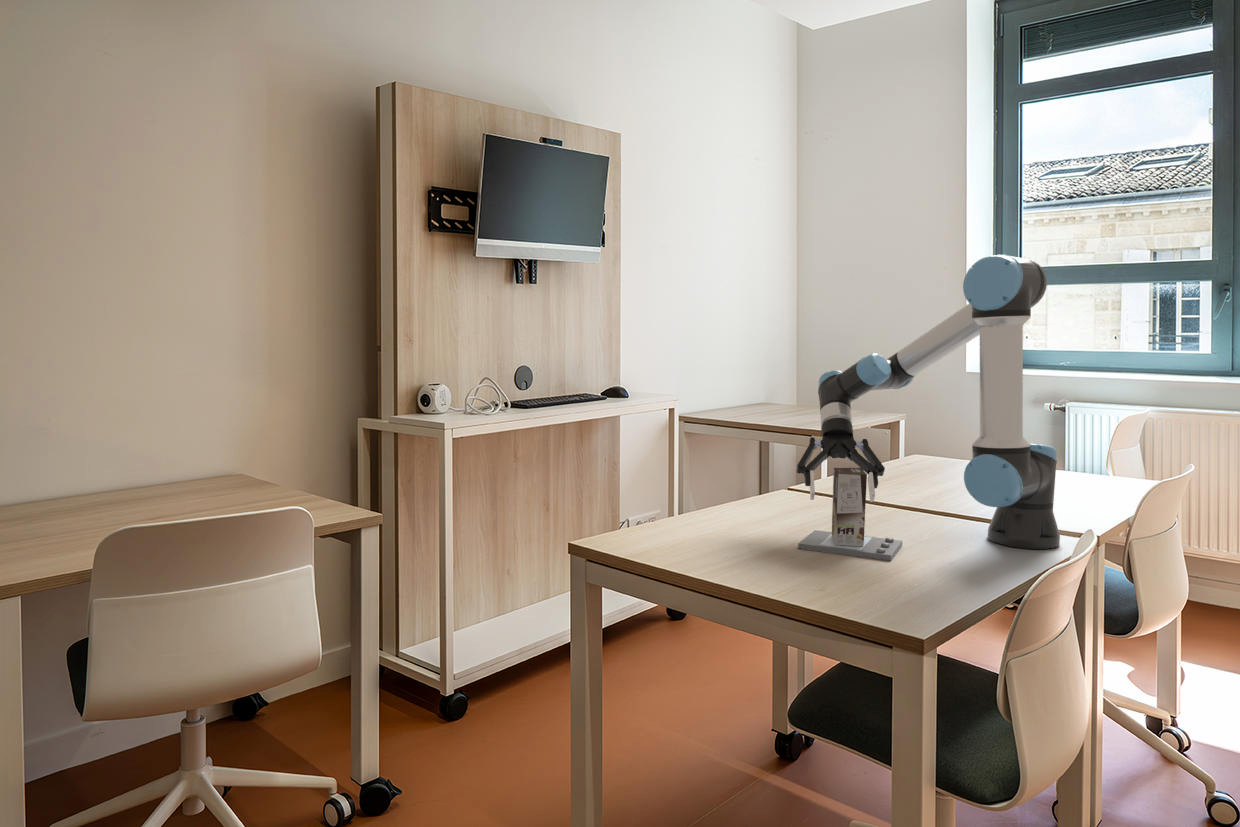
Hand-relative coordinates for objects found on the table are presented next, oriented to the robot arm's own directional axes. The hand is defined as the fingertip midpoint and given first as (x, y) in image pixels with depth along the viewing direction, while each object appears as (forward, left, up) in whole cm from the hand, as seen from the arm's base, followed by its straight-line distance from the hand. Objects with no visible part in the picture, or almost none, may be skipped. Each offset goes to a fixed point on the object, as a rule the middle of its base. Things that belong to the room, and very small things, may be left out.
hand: (842, 497), depth 199 cm
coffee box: (-3, +7, -9) cm, 11 cm away
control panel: (-4, +7, -10) cm, 12 cm away
